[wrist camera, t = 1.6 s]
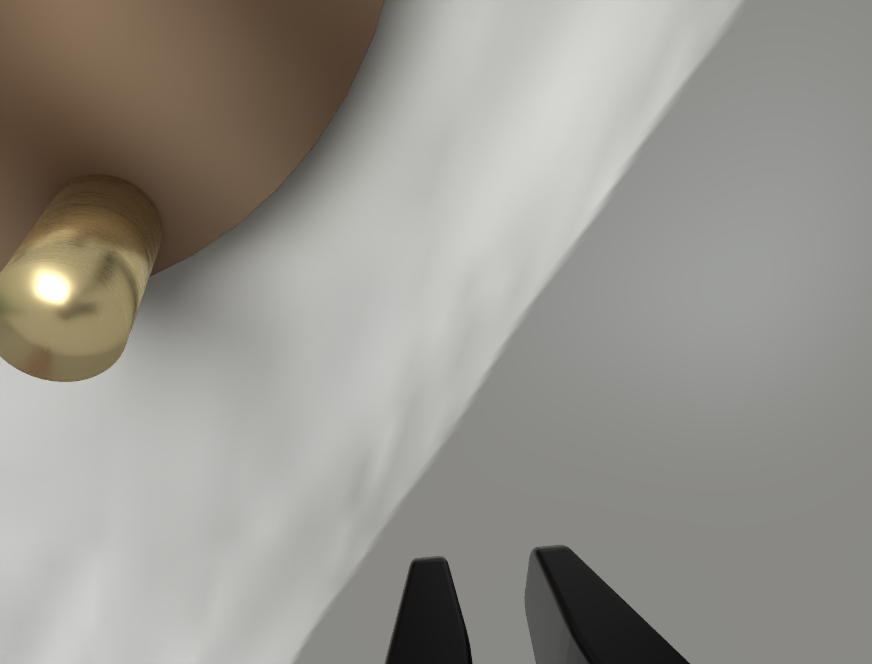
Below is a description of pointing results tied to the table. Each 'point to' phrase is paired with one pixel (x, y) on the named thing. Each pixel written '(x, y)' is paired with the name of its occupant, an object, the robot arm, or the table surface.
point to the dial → (146, 148)
